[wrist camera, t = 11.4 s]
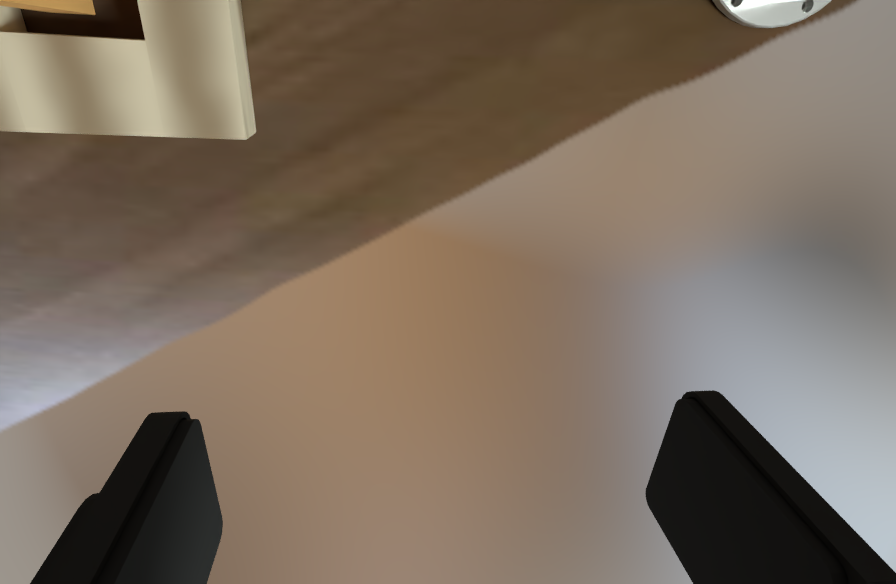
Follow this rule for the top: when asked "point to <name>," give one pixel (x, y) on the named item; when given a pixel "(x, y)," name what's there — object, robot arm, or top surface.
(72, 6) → the tan wooden block
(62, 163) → the top surface
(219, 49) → the square frame with handle
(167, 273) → the top surface
